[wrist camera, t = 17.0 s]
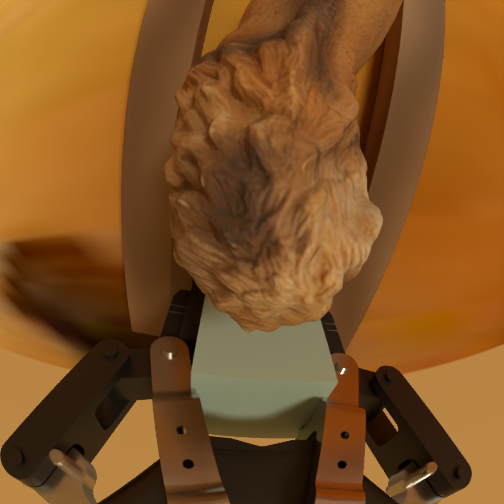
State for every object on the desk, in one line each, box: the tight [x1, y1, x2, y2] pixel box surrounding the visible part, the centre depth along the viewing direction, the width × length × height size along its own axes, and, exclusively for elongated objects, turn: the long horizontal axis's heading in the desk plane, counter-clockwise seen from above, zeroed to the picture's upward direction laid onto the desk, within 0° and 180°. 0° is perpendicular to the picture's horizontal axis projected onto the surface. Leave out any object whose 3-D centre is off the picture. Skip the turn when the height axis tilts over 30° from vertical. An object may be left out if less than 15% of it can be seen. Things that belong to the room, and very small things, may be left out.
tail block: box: [191, 295, 338, 438], centre depth 10 cm, size 4×4×6 cm
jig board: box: [122, 0, 445, 351], centre depth 10 cm, size 12×22×2 cm, turn 170°
